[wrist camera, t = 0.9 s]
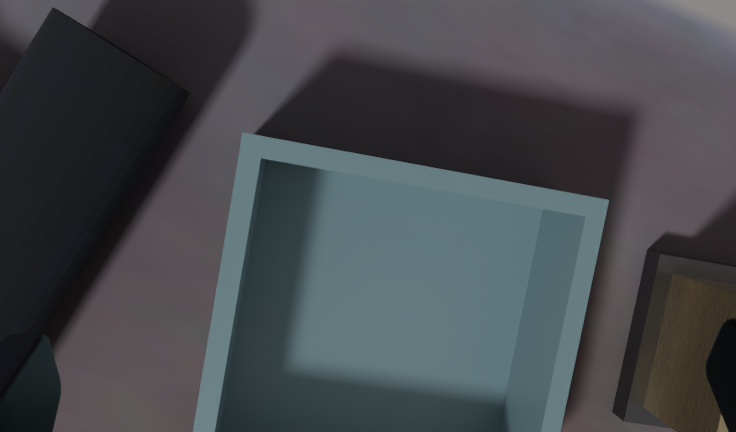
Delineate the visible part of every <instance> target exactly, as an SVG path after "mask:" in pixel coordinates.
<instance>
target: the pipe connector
mask: <svg viewBox="0 0 736 432" xmlns="http://www.w3.org/2000/svg"><path fill="white" fill-rule="evenodd" d="M189 94H190V93H189V92H188V91H186V90H185V89H183V88H182V87H180V86H179V85H177V84H176V83H174V82H173V81H171V80H170V79H168V78H166V77H165V76H163V75H162V74H160V73H158V72H157V71H155V70H154V69H152V68H151V67H149V66H147V65H146V64H144V63H143V62H141V61H139V60H138V59H136V58H135V57H133V56H132V55H130V54H128V53H127V52H125V51H124V50H122V49H120V48H119V47H117V46H116V45H114V44H113V43H111V42H109V41H108V40H106V39H105V38H103V37H101V36H100V35H98V34H96V33H95V32H93V31H92V30H90V29H88V28H87V27H85V26H84V25H82V24H80V23H79V22H77V21H75V20H74V19H72V18H70V17H69V16H67V15H65V14H64V13H62V12H60V11H59V10H57V9H55V8H52V9H51V11H50V13H49V14H48V16H47V18H46V19H45V21H44V22H43V24H42V26H41V27H40V29H39V31H38V32H37V34H36V35H35V37H34V39H33V40H32V42H31V44H30V45H29V47H28V49H27V50H26V52H25V53H24V55H23V57H22V58H21V60H20V62H19V63H18V65H17V66H16V68H15V70H14V71H13V73H12V75H11V76H10V78H9V80H8V81H7V83H6V84H5V86H4V88H3V89H2V91H1V93H0V341H1V340H3V339H4V338H6V337H7V336H9V335H11V334H21V333H41V332H42V330H43V328H44V327H45V325H46V324H47V322H48V320H49V319H50V317H51V316H52V314H53V312H54V311H55V309H56V308H57V306H58V304H59V303H60V301H61V300H62V298H63V296H64V295H65V293H66V291H67V290H68V288H69V287H70V285H71V283H72V282H73V280H74V279H75V277H76V275H77V274H78V272H79V271H80V269H81V267H82V266H83V264H84V263H85V261H86V259H87V258H88V256H89V254H90V253H91V251H92V250H93V248H94V246H95V245H96V243H97V242H98V240H99V238H100V237H101V235H102V234H103V232H104V230H105V229H106V227H107V226H108V224H109V222H110V221H111V219H112V218H113V216H114V214H115V213H116V211H117V209H118V208H119V206H120V205H121V203H122V201H123V200H124V198H125V197H126V195H127V193H128V192H129V190H130V189H131V187H132V185H133V184H134V182H135V181H136V179H137V177H138V176H139V174H140V172H141V171H142V169H143V168H144V166H145V164H146V163H147V161H148V160H149V158H150V156H151V155H152V153H153V152H154V150H155V148H156V147H157V145H158V144H159V142H160V140H161V139H162V137H163V135H164V134H165V132H166V131H167V129H168V127H169V126H170V124H171V123H172V121H173V119H174V118H175V116H176V115H177V113H178V111H179V110H180V108H181V107H182V105H183V103H184V102H185V100H186V99H187V97H188V95H189Z"/></svg>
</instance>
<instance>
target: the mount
mask: <svg viewBox="0 0 736 432" xmlns="http://www.w3.org/2000/svg"><path fill="white" fill-rule="evenodd" d="M673 274H677V275H683V276H689V277H694V278H700V279H706V280H712V281H718V282H724V283H729V284H735V285H736V266H734V265H728V264H722V263H717V262H711V261H705V260H700V259H694V258H688V257H683V256H677V255H671V254H666V253H660V252H654V251H649V250H647V254H646V258H645V263H644V268H643V272H642V277H641V282H640V286H639V291H638V296H637V300H636V305H635V309H634V314H633V319H632V323H631V328H630V333H629V337H628V342H627V347H626V351H625V356H624V360H623V365H622V370H621V374H620V379H619V384H618V388H617V393H616V397H615V402H614V407H613V411H612V412H613V413H614V414H616V415H617V416H618V417H619V418H620V419H622V420H623V421H625V422H632V423H639V424H646V425H653V426H660V427H667V428H671V427H669V426H668V425H667V424H665V423H664V422H663V421H661V420H660V419H659V418H657V417H656V416H655V415H653V414H652V413H651V412H649V411H648V410H646V409H645V408H644V402H645V398H646V393H647V389H648V384H649V379H650V375H651V370H652V366H653V361H654V357H655V352H656V348H657V343H658V338H659V334H660V329H661V325H662V320H663V316H664V311H665V307H666V302H667V297H668V293H669V288H670V284H671V279H672V275H673Z"/></svg>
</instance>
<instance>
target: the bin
mask: <svg viewBox="0 0 736 432" xmlns="http://www.w3.org/2000/svg"><path fill="white" fill-rule="evenodd" d="M608 204H609V200H607V199H601V198H596V197H591V196H585V195H580V194H574V193H569V192H563V191H558V190H553V189H547V188H542V187H536V186H531V185H525V184H520V183H515V182H509V181H504V180H498V179H493V178H487V177H482V176H477V175H471V174H466V173H460V172H455V171H449V170H444V169H439V168H433V167H428V166H422V165H417V164H411V163H406V162H401V161H395V160H390V159H384V158H379V157H373V156H368V155H363V154H357V153H352V152H346V151H341V150H335V149H330V148H325V147H319V146H314V145H308V144H303V143H297V142H292V141H287V140H281V139H276V138H270V137H265V136H259V135H254V134H249V133H242V139H241V145H240V151H239V157H238V163H237V169H236V175H235V181H234V187H233V193H232V199H231V205H230V211H229V217H228V223H227V229H226V235H225V241H224V247H223V253H222V259H221V265H220V271H219V277H218V283H217V289H216V295H215V301H214V307H213V313H212V319H211V325H210V331H209V337H208V343H207V349H206V355H205V361H204V367H203V373H202V379H201V385H200V391H199V397H198V403H197V409H196V415H195V421H194V427H193V432H561V427H562V422H563V418H564V413H565V408H566V403H567V399H568V394H569V389H570V384H571V380H572V375H573V370H574V365H575V361H576V356H577V351H578V346H579V342H580V337H581V332H582V327H583V323H584V318H585V313H586V308H587V303H588V299H589V294H590V289H591V284H592V280H593V275H594V270H595V265H596V261H597V256H598V251H599V246H600V242H601V237H602V232H603V227H604V223H605V218H606V213H607V208H608Z"/></svg>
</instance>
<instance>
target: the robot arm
mask: <svg viewBox="0 0 736 432" xmlns="http://www.w3.org/2000/svg"><path fill="white" fill-rule="evenodd" d="M705 368H706V376H707V380H708V382H709V385H710V387H711V390H712V392H713V395H714V397H715V400H716V402H717V405H718V407H719V410H720V412H721V415H722V417H723V419H724V422H725V424H726V427H727V429H728V432H736V318H730V319H727V320H726V321H725V322H724V323H722V325H721V327H720V329H719V332H718V334H717V336H716V339H715V341H714V343H713V346H712V348H711V350H710V353H709V355H708V357H707V360H706V366H705ZM60 395H61V382H60V377H59V373H58V370H57V366H56V362H55V359H54V355H53V351H52V348H51V344H50V341H49V339H48V338H47V336H46V335H44V334H42V333H21V334H11V335H9V336H7V337H6V338H4V339H3V340H1V341H0V432H52V431H53V427H54V422H55V418H56V414H57V409H58V405H59V401H60Z"/></svg>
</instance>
